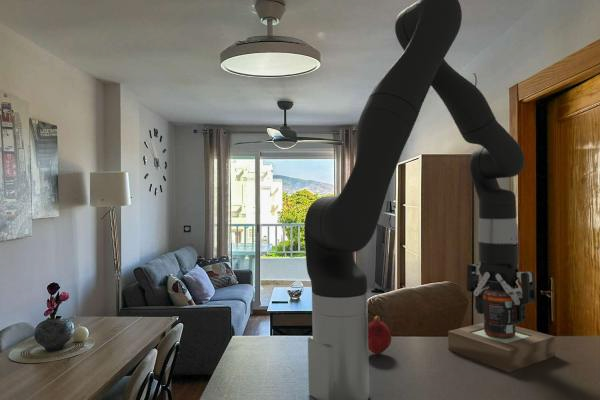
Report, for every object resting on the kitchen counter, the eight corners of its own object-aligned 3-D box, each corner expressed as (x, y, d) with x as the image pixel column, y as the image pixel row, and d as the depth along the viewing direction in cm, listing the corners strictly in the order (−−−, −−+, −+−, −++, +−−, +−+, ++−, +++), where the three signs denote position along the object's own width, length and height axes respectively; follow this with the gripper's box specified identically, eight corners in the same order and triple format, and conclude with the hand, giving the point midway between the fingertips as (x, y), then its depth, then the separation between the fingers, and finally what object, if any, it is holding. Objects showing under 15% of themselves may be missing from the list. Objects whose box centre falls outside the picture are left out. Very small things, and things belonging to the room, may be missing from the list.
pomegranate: (392, 360, 85) (391, 320, 85) (363, 359, 86) (362, 320, 86) (390, 350, 90) (389, 313, 90) (363, 349, 91) (362, 312, 91)
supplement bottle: (519, 339, 84) (518, 283, 84) (487, 338, 85) (486, 282, 85) (511, 330, 90) (509, 277, 90) (481, 329, 91) (480, 277, 91)
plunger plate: (505, 348, 82) (505, 343, 82) (471, 337, 89) (471, 332, 89) (529, 341, 86) (529, 336, 86) (495, 331, 93) (495, 326, 93)
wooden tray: (509, 372, 78) (508, 350, 78) (448, 349, 90) (448, 331, 90) (555, 356, 85) (554, 336, 85) (493, 337, 97) (493, 320, 97)
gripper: (457, 239, 92) (459, 313, 92) (519, 244, 80) (521, 329, 80) (480, 236, 96) (481, 308, 96) (542, 241, 83) (544, 323, 83)
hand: (499, 317), depth 88 cm, fingers open, 8 cm apart
